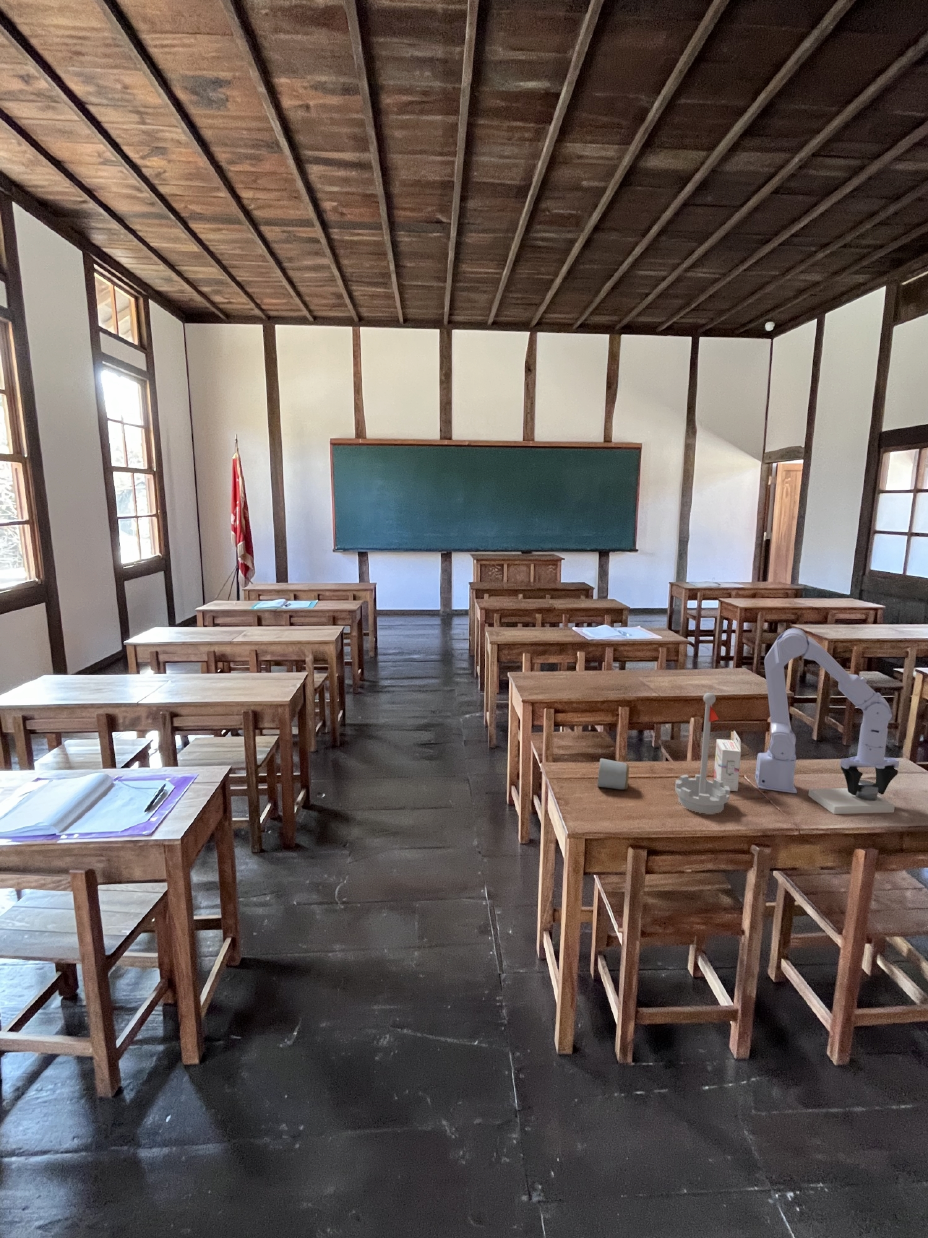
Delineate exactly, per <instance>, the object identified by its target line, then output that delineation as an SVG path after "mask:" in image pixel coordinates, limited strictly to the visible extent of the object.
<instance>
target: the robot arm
mask: <svg viewBox="0 0 928 1238" xmlns="http://www.w3.org/2000/svg"><path fill="white" fill-rule="evenodd" d="M800 656H802V659H804V660H811V661H813V662H814V661H815V662H816V663H817V664H818V665H819V666H820V667H821V668H822V669H823V670H825V672H827V673H828V675H830V676H831V677H832V678H833V679H835V680H836V681H837V682H838V683H837V684H838V685H837V688H838V691H839V692H840V693H842V694H843V695H844V696H845V697H846V698H847V699H848V700H849V701H850V702H851V703H852V704H853V705H854V706H855V707H856V708H858V709H861V710H862V712H863V713H862V714H863V715H862V722H861V724H860V729H859V737H858V738H859V739H858V746H857V754H856V756H851V757H848V758H847V757H846V758H841V759H840V763H839V766H840V769H841V771H842V773H843V776H844V779H845V782H846V786H847V787H846V788H848V792H849V793H851V794H852V795H856V794H857V790H858V784H859V781H860V780H861V778H862V777H863V775H864V773H863V772H861V771H860V770H859V769H858V768H874V769H875V783H876V784H877V785H878V786H879V788H878V794H880V795H884V794H885V792H886V790H887V788H888V787H889V785H890V783H891V782H892V780H893V779H894V778H895V777H896V776H897V775H898V774H899V770H898V768H899V767H900V760H898V759H896V758H895V757H885V755H886V754H885V753H886V748H887V747H886V746H887V738H888V731H889V729H888V726H889V722H890V720H891V719H892V717H893V714H892V710H891V706H890V704H889V703H888V702H887V700H886V699H885V698H884V697H883V696H882V694H881V693H880V692H876V691H875V690H874V689H873V688H872V687H871V686H870V685H869V684H867V682H868V680H867V679H866V678H865V677H864V676H861V677H860V676H859V675H858V674H850V673H848V671H846V670H845V668H843V667H842V665H841V664H840V663H838V662H837V661H836V660H835V658H834V657H832V655H830V654H829V652H828V651H827V650H826V649H825V648H824V647H823V646H822V645H821V644H819V642H818V641H816V640H815V639H814V638H813V637H811V636H809V635H808V636H807V634H806V633H805V631H804V630H802V629H800V628H797V627H793V628H788V629H787V630H785V631H783V632H782V633H781V634H779V636H777V638H776V640H775V641H774V642H773V644H772V646H771V648H770V649H769V651H768V652H767V654H766V655H765V657H764V661H763V663H764V671H765V680H766V688H767V698H768V700H767V701H768V706H769V716H770V733H771V735H770V741H769V745H768V749H767V750H766V752H759V753H757V758H756V766H755V774H754V775H755V776H754V778H755V782H756V784H757V788H759V789H762V790H770V791H777V792H782V793H791V794H797V793H798V791H797V788H796V786H795V785H794V784H795V783H794V781H795V772H796V763H797V755H796V744H797V738H796V734H795V732H793V730H792V726H791V720H790V713H789V704H788V693H787V684H786V676H785V675H786V674H785V668H784V667H785V666H786V665H787V664H788V663H789V662H790V661H791V660H793V659H796V658H798V657H800ZM896 768H897V769H896Z"/></svg>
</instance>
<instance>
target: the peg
mask: <svg viewBox="0 0 928 1238" xmlns="http://www.w3.org/2000/svg"><path fill="white" fill-rule="evenodd" d="M878 788H879V786H878V785H877V784H876V782H873V781H871V780H867V779H860V781H859V784H858V790H857V794H856V795H855V796H856V797H858V798H860V799H863V800H867V801H876V800H877V796H878V795H879V793H878Z"/></svg>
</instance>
